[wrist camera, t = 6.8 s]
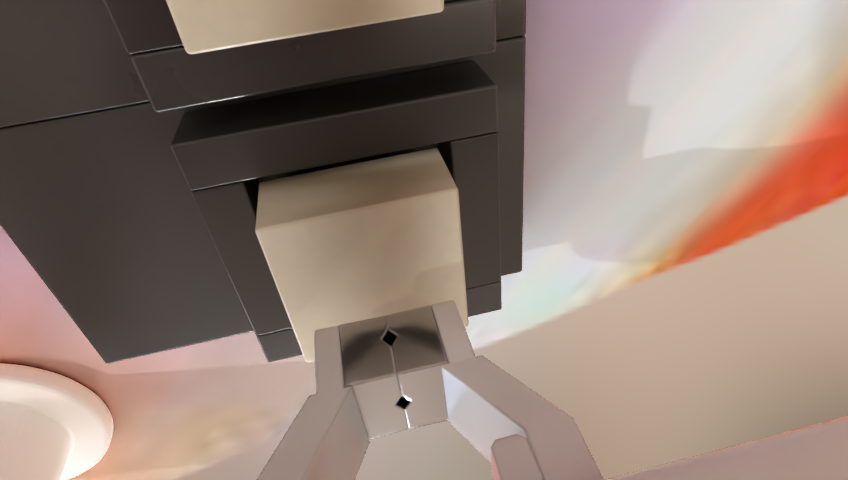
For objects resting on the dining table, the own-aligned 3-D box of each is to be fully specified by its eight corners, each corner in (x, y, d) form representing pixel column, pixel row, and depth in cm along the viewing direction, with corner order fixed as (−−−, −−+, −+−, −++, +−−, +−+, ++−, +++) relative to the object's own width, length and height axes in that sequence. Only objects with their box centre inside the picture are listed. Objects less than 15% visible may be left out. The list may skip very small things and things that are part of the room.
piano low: (123, 317, 18) (89, 413, 15) (-21, 103, 13) (-115, 180, 10) (502, 235, 20) (542, 307, 17) (499, 14, 15) (555, 58, 12)
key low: (303, 310, 15) (306, 364, 13) (258, 180, 12) (253, 230, 11) (450, 277, 15) (469, 326, 14) (437, 145, 13) (459, 188, 11)
